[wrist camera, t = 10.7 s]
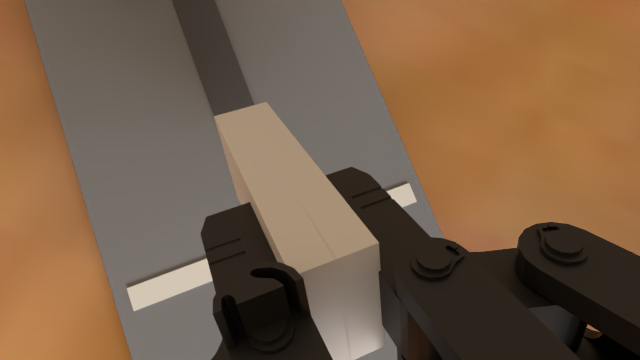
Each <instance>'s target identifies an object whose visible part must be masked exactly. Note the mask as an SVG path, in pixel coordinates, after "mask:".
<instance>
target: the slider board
mask: <svg viewBox="0 0 640 360" xmlns="http://www.w3.org/2000/svg"><path fill="white" fill-rule="evenodd" d="M24 2H25V6H26V9H27V12H28V16H29V19H30V22H31V26H32V29H33V32H34V36H35V39H36V42H37V46H38V49H39V52H40V55H41V59H42V62H43V65H44V69H45V72H46V75H47V79H48V82H49V85H50V89H51V92H52V95H53V99H54V102H55V105H56V109H57V112H58V115H59V119H60V122H61V125H62V129H63V132H64V135H65V138H66V142H67V145H68V148H69V152H70V155H71V158H72V162H73V165H74V168H75V172H76V175H77V178H78V182H79V185H80V188H81V192H82V195H83V198H84V202H85V205H86V208H87V212H88V215H89V218H90V221H91V225H92V228H93V231H94V235H95V238H96V241H97V245H98V248H99V251H100V255H101V258H102V261H103V265H104V268H105V271H106V275H107V278H108V281H109V285H110V288H111V291H112V295H113V298H114V301H115V304H116V308H117V311H118V314H119V318H120V321H121V324H122V328H123V331H124V334H125V338H126V341H127V344H128V348H129V351H130V354H131V358H132V360H211V359H212V358H213V356H214V355H215V354H216V352H217V350H218V348H219V346H220V344H221V342H222V336H221V333H220V331H219V328H218V326H217V323H216V321H215V319H214V316H213V298H214V296H215V294H216V292H215V288H214V284H213V280H212V276H211V272H210V269H209V265H208V261H207V257H206V253H205V250H204V246H203V242H202V238H201V234H200V233H201V230H202V228H203V225H204V222H205V219H206V217H207V216H210V215H213V214H216V213H219V212H222V211H225V210H228V209H231V208H234V207H237V206H240V205H241V204H240V202H239V199H238V197H237V194H236V191H235V187H234V184H233V180H232V177H231V173H230V170H229V167H228V163H227V160H226V156H225V153H224V150H223V146H222V143H221V139H220V136H219V132H218V129H217V126H216V122H215V119H214V116H217V115H220V114H224V113H228V112H231V111H235V110H238V109H242V108H246V107H249V106H253V105H257V104H260V103H264V102H267V103H268V105H269V106H270V107H271V108H272V110H273V111H274V112H275V113H276V115H277V116H278V117H279V118H280V120H281V121H282V122H283V123H284V125H285V126H286V127H287V128H288V130H289V131H290V132H291V133H292V135H293V136H294V137H295V138H296V140H297V141H298V142H299V143H300V145H301V146H302V147H303V148H304V150H305V151H306V152H307V153H308V155H309V156H310V157H311V158H312V160H313V161H314V162H315V163H316V165H317V166H318V167H319V168H320V170H321V171H322V172H323V173H324V175H328V174H331V173H334V172H337V171H340V170H343V169H346V168H349V167H354V168H356V169H358V170H361V171H363V172H365V173H368V174H370V175H371V176H372V177H373V178H374V179H375V180H376V181H377V182H378V183H379V184H380V186H381V187H382V189H384V190H385V191H386V192H387V193H388V194H389V195H390V196H391V198H392V199H394V200H395V201H396V202H397V203H398V204H399V205H400V206H401V207H402V208H403V209H404V210H405V211H406V212H407V213H408V214H409V215H410V216H411V217H412V218H413V219H414V220H415V221H416V222H417V223H418V224H419V226H420V227H421V228H422V229H423V230H424V231H425V232H426V233H427V234H428V235H429V236H430V237H435V238H443V239H444V237H443V235H442V232H441V230H440V228H439V225H438V223H437V221H436V219H435V216H434V214H433V212H432V209H431V207H430V205H429V202H428V200H427V198H426V195H425V193H424V191H423V189H422V186H421V184H420V182H419V179H418V177H417V175H416V172H415V170H414V168H413V165H412V163H411V161H410V159H409V156H408V154H407V152H406V149H405V147H404V145H403V142H402V140H401V138H400V136H399V133H398V131H397V129H396V126H395V124H394V122H393V119H392V117H391V115H390V112H389V110H388V108H387V106H386V103H385V101H384V99H383V96H382V94H381V92H380V89H379V87H378V85H377V82H376V80H375V78H374V76H373V73H372V71H371V69H370V66H369V64H368V62H367V59H366V57H365V55H364V53H363V50H362V48H361V46H360V43H359V41H358V39H357V36H356V34H355V32H354V29H353V27H352V25H351V23H350V20H349V18H348V16H347V13H346V11H345V9H344V6H343V4H342V2H341V0H24ZM385 343H386V346H384V347H382V348H379V349H377V350H375V351H373V352H371V353H368V354H366V355H364V356H362V357H360V358H357V359H355V360H397V347H396V345H395V344H394V342H393V341H392V339H391V338H390V336H389V335H388V333H387V331H386V330H385Z"/></svg>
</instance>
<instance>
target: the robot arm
mask: <svg viewBox="0 0 640 360" xmlns="http://www.w3.org/2000/svg"><path fill="white" fill-rule="evenodd" d="M214 119H215V122H216V126H217V129H218V132H219V136H220V139H221V143H222V146H223V150H224V153H225V156H226V160H227V163H228V167H229V170H230V173H231V177H232V180H233V184H234V187H235V191H236V194H237V197H238V199H239V202H240V204H241V205H240V206H237V207H234V208H231V209H228V210H225V211H222V212H219V213H216V214H213V215H210V216H207V217H206V219H205V222H204V225H203V228H202V230H201V233H200V234H201V238H202V242H203V246H204V250H205V253H206V257H207V261H208V265H209V269H210V272H211V276H212V280H213V284H214V288H215V292H216V294H215V296H214V298H213V316H214V319H215V321H216V323H217V326H218V328H219V331H220V333H221V336H222V342H221V344H220V346H219V348H218V350H217V352H216V354H215V355H214V356H213V358H212V359H211V360H355V359H357V358H360V357H362V356H364V355H366V354H368V353H371V352H373V351H375V350H377V349H379V348H382V347H384V346H386V343H385V330H386V331H387V333H388V335H389V336H390V338H391V339H392V341H393V342H394V344H395V345H396V347H397V360H640V256H638V255H636V254H634V253H632V252H630V251H628V250H626V249H623V248H621V247H619V246H617V245H615V244H613V243H611V242H609V241H607V240H605V239H602V238H600V237H598V236H596V235H594V234H592V233H590V232H588V231H586V230H583V229H580V228H577V227H575V226H572V225H569V224H562V223H554V222H548V223H540V224H535V225H533V226H531V227H529V228H526V229H525V230H524V231H523V233H522V234H521V235H520V237H519V240H518V245H517V248H512V249H503V250H495V251H486V252H468V251H467V250H466V249H464V248H463V247H462V246H460V245H459V244H457V243H456V242H453V241H450V240H446V239H443V238H435V237H430V236H429V235H428V234H427V233H426V232H425V231H424V230H423V229H422V228H421V227H420V226H419V224H418V223H417V222H416V221H415V220H414V219H413V218H412V217H411V216H410V215H409V214H408V213H407V212H406V211H405V210H404V209H403V208H402V207H401V206H400V205H399V204H398V203H397V202H396V201H395V200H394V199H392V198H391V196H390V195H389V194H388V193H387V192H386V191H385V190H384V189H382V187H381V186H380V184H379V183H378V182H377V181H376V180H375V179H374V178H373V177H372V176H371V175H370V174H368V173H365V172H363V171H361V170H358V169H356V168H354V167H349V168H346V169H343V170H340V171H337V172H334V173H331V174H328V175H324V173H323V172H322V171H321V170H320V168H319V167H318V166H317V165H316V163H315V162H314V161H313V160H312V158H311V157H310V156H309V155H308V153H307V152H306V151H305V150H304V148H303V147H302V146H301V145H300V143H299V142H298V141H297V140H296V138H295V137H294V136H293V135H292V133H291V132H290V131H289V130H288V128H287V127H286V126H285V125H284V123H283V122H282V121H281V120H280V118H279V117H278V116H277V115H276V113H275V112H274V111H273V110H272V108H271V107H270V106H269V105H268V103H267V102H264V103H260V104H257V105H253V106H249V107H246V108H242V109H238V110H235V111H231V112H228V113H224V114H220V115H217V116H214ZM587 324H589V325H590V326H592V327H593V328H595V329H597V330H598V331H600V332H597V331H592V330H590V329H588V328H586V327H587Z"/></svg>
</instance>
